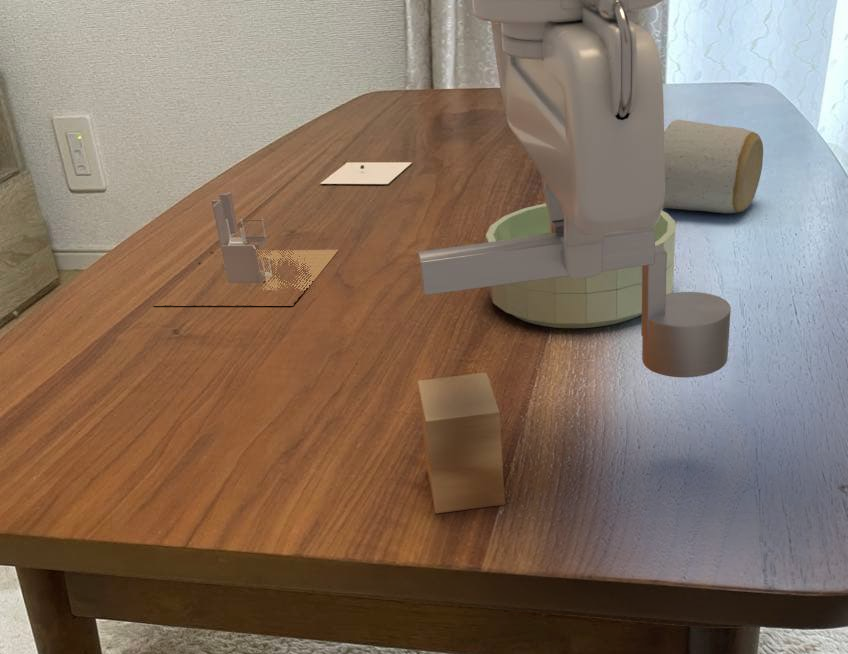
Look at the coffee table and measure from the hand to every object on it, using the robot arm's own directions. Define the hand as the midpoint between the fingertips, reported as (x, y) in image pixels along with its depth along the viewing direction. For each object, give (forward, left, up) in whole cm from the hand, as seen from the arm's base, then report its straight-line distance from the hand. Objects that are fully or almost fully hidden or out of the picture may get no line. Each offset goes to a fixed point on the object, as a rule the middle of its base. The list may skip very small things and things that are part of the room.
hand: (575, 263), depth 55 cm
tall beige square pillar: (+7, 0, -13) cm, 14 cm away
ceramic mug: (-22, -44, -13) cm, 51 cm away
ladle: (0, 0, -6) cm, 6 cm away
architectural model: (+17, -43, -13) cm, 48 cm away
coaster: (+9, -68, -13) cm, 70 cm away
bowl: (-6, -26, -13) cm, 30 cm away
